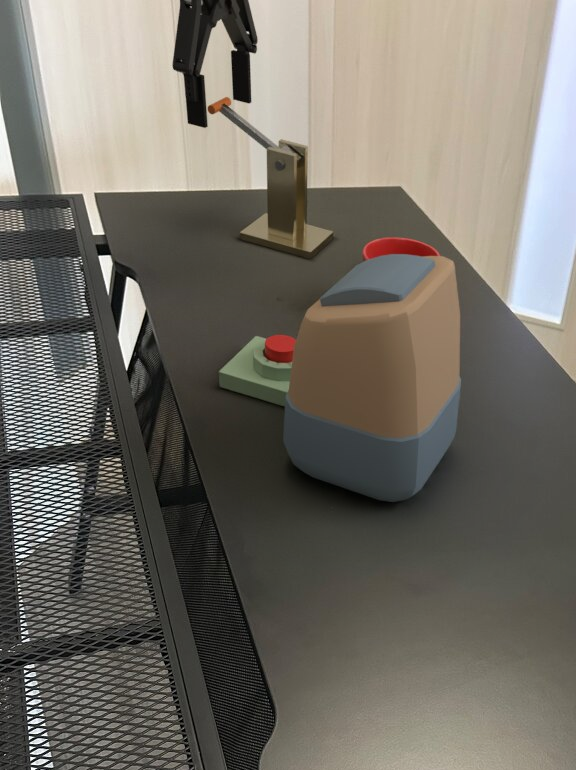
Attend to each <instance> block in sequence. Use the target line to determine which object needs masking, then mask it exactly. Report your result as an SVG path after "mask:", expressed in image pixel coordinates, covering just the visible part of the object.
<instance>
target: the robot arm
mask: <svg viewBox="0 0 576 770" xmlns="http://www.w3.org/2000/svg"><path fill="white" fill-rule="evenodd" d="M178 11H179V12H178V17H177V25H176V34H175V41H174V48H173V56H172V57H173V58H172V64H171V65H172V70H173V71H175V72H177V73H181V74H182V75H183V82H184V97H185V108H186V118H187V124H188V125H191V126H195V127H200V128H203V129H206V128H208V109H207V98H206V97H207V96H206V95H207V94H206V81H205V75H204V74H201V73H202V68H203V64H204V61H205V58H206V57H205V56H206V53H207V50H208V45H209V41H210V37H211V34H212V31H213V29H214V28H216V27H217V25H218V22H220V21H221V22H222V24H223V27H224V29H225V31H226V33H227V35H228V37H229V39H230V42H231V44H232V46H233V48H234V49H232V50H230V63H231V81H232V82H231V84H232V86H231V87H232V100H234V101H237V102H241V103H244V104H248V105H249V104H252V79H251V77H252V76H251V54H254V55H255V54H257V52H258V46H257V44H258V42H259V41H258V33H257V31H256V26H255V22H254V18H253V13H252V10H251V6H250V1H249V0H179V10H178Z"/></svg>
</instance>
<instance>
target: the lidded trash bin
mask: <svg viewBox="0 0 576 770" xmlns="http://www.w3.org/2000/svg"><path fill="white" fill-rule="evenodd" d="M460 309H461V308H460V300H459V291H458V283H457V275H456V266H455V262H454V261H453V260H452V259H450V258H447V257H446V256H443V255H440V256H424V257H421V256H415V255H407V254H390V255H384V256H379V257H375V258H372V259H369V260H366V261H364V262H363V261H362V262H360V263H358V264H356V265H355V266H354V267H353V268H352V269H351V270H349V271H348V272H347V273H346V274H345V275H344V276H343V277H342V278H340V279H339V280H338V281H337V282H335V284H334V285H332V286H331V287H330V288H329V289H328V290H327V291H326V292H325V293H323V295H321V296H320V297H319V299H318V300H317V301H316V302H314V303H313V304H312V305H311V306H310V307H309V308H307V310H306V312H305V314H304V316H303V319H302V321H301V324H300V327H299V330H298V332H297V336H296V339H295V340H296V342H295V345H294V351H293V359H292V367H291V375H290V383H289V390H288V392H287V395H286V397H285V407H284V418H283V419H284V420H283V437H282V438H283V439H282V442H283V444H284V447H285V449H286V452H287V454H288V456H289V458H290V460H291V463H292V465H294V466H295V467H296V468H297V469H299V470H300V471H301V472H303V473H304V474H306V475H308V476H309V477H312V478H313V479H317V480H320V481H322V482H325V483H328V484H331V485H333V486H337V487H339V488H341V489H342V488H343V489H345V490H348V491H351V492H355V493H357V494H360V495H362V496H366V497H367V498H368V497H369V498H372V499H374V500H377V501H383V502H390V503H396V502H401V501H406V500H408V499H410V498H412V497H413V496H414V495H416V494H417V493H418V492H419V491H421V490H422V489H423V487H424V486H425V484H426V483H427V481H428V480H429V478H430V476H431V475H432V474H433V472H434V470H435V469H436V468H437V466H438V464H439V463H440V462H441V460H442V459H443V458H444V455H445V454H446V452H447V451H448V449H449V448H450V446H451V444H452V443H453V440H454V439H455V436H456V434H457V433H456V432H457V428H458V417H459V408H460V407H459V406H460V398H461V389H462V387H461V386H462V378H461V376H460V370H461V369H460V366H461V365H460V364H461V362H460V361H461V347H460V346H461V310H460Z"/></svg>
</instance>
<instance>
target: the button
mask: <svg viewBox="0 0 576 770" xmlns="http://www.w3.org/2000/svg"><path fill="white" fill-rule="evenodd" d="M265 339H266V341H265V356H266V358H267V359H268V360H270V361H273V362H276V363H290V362H292V359H293V351H294V345H295V342H296V339H295V338H294V337H292V336H289V335H285V334H274V335H271V336H268V337H267V338H265Z"/></svg>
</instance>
